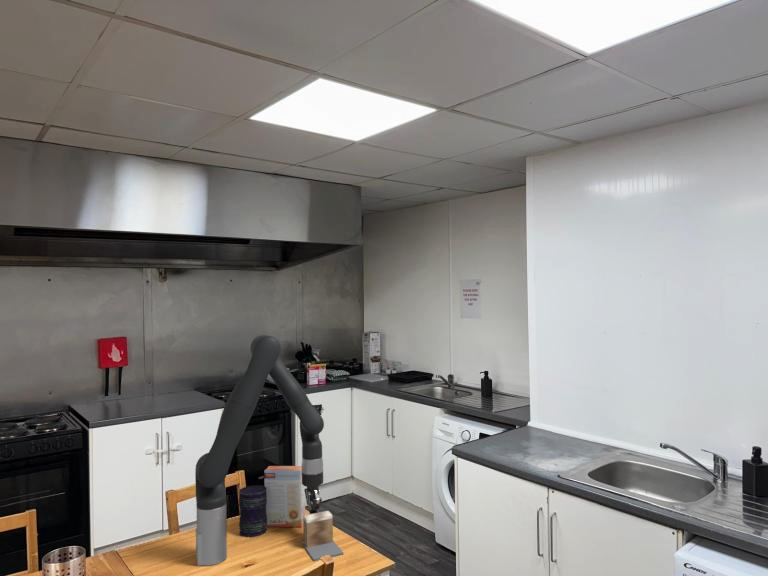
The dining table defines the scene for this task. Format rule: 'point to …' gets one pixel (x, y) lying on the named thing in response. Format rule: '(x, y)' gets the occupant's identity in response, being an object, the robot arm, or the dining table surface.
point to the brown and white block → (318, 528)
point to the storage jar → (253, 511)
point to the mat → (323, 550)
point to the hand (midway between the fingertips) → (313, 520)
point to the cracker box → (284, 496)
